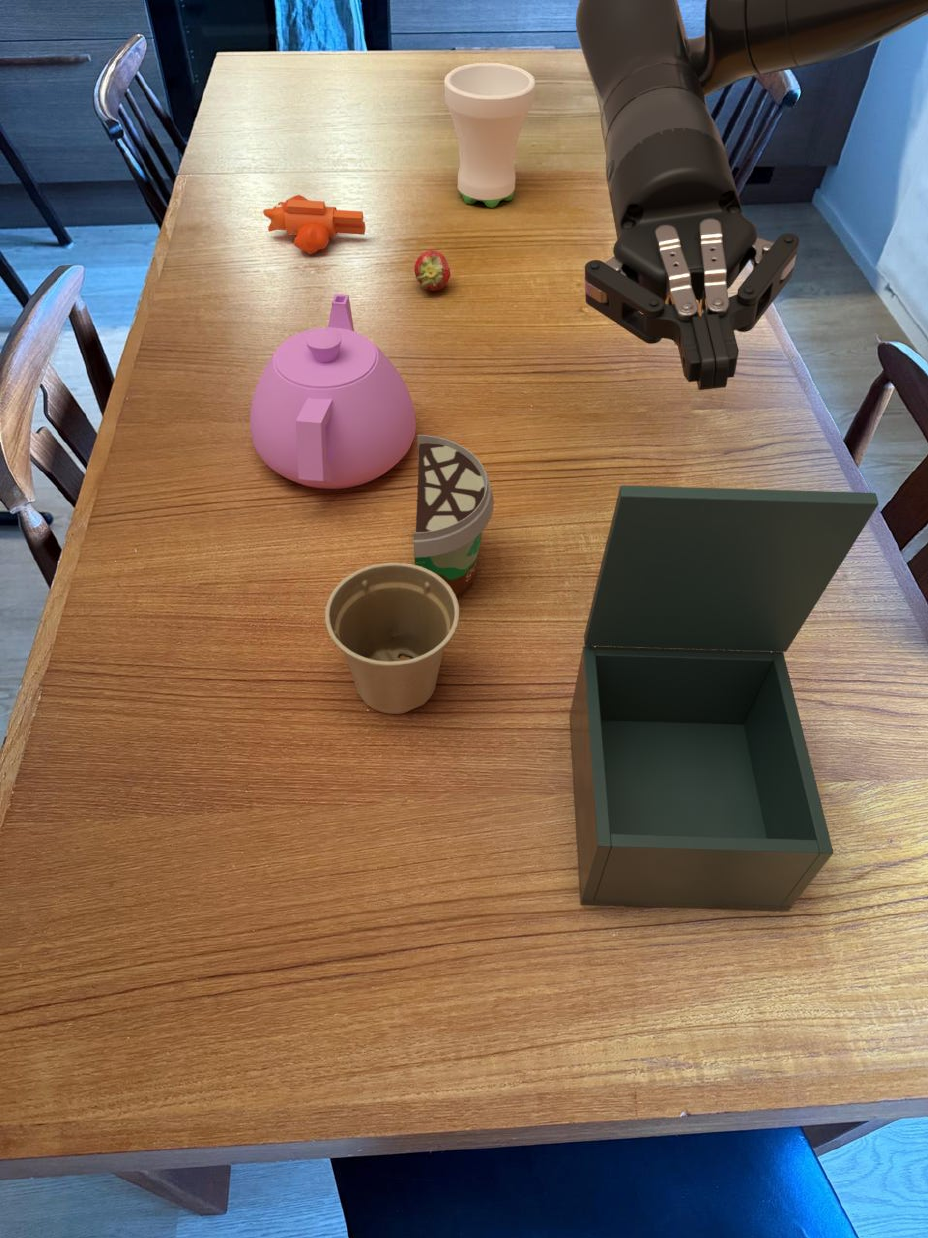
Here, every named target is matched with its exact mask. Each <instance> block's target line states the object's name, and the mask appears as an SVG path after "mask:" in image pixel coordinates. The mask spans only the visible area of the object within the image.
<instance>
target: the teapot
mask: <svg viewBox="0 0 928 1238" xmlns="http://www.w3.org/2000/svg"><path fill="white" fill-rule="evenodd" d="M332 298H333V299H332V300H331V308H330V314H329V321H328V324H327V327H316V328H311V329H307V330H303V331H300V332H298V333H295V334H293V335H291V336H289V337H288V338H286V339H285V340H284V341H283V342H282V343H280V344H279V346H278V347H277V348H276V349H275V351H274V352H273V354H272V355H271V357H270V358H269V360H268V362H267V364H266V366H265V367H264V369H263V371H262V373H261V375H260V377H259V379H258V382H257V384H256V387H255V389H254V392H253V397H252V401H251V407H250V413H249V414H250V422H249V423H250V425H249V426H250V430H249V431H250V436H251V442H252V445H253V447H254V449H255V452H256V453H257V455H258V456H259V457H260V459H261V460H262V461H263V463H265V465H266V466H267V467H268V468H270V469H271V470H272V471H274V472H275V473H277V474H279V475H280V476H282V477H284V478H286V479H288V480H290V481H292V482H294V483H297V484H300V485H302V486H306V487H309V488H314V489H323V490H324V489H325V490H339V489H347V488H348V489H349V488H354V487H358V486H361V485H364V484H367V483H370V482H372V481H374V480H376V479H378V478H379V477H381V476H383V475H384V474H385V473H387V472H388V471H390V470H391V469H392V468H394V466H395V465H397V464H398V463H399V462H400V461H401V460H402V459H403V458H404V457H405V456H406V454H407V453H408V452H409V449H411V445H412V444H413V442H414V439H415V435H416V430H417V428H416V427H417V420H416V412H415V407H414V404H413V400H412V396H411V394H410V391H409V389H408V387H407V385H406V382H405V380H404V379H403V376H402V375H401V374H400V372H399V370H398V369H397V368H396V367H395V365H394V363H392V361H391V360H390V359H389V357H387V356H386V355H385V353H384V352H383V351H382V350H381V349H380V348H379V347H378V346H377V345H376V344H375V343H374V342H373V341H372V340H371V339H369V338H368V337H367V336H365V335H363V334H361V333H359V332H357V331H355V328H354V327H355V326H354V321H353V315H352V308H351V301H350V295H349V294H344V293H343V294H342V293H341V294H340V293H334V296H333V297H332Z"/></svg>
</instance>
